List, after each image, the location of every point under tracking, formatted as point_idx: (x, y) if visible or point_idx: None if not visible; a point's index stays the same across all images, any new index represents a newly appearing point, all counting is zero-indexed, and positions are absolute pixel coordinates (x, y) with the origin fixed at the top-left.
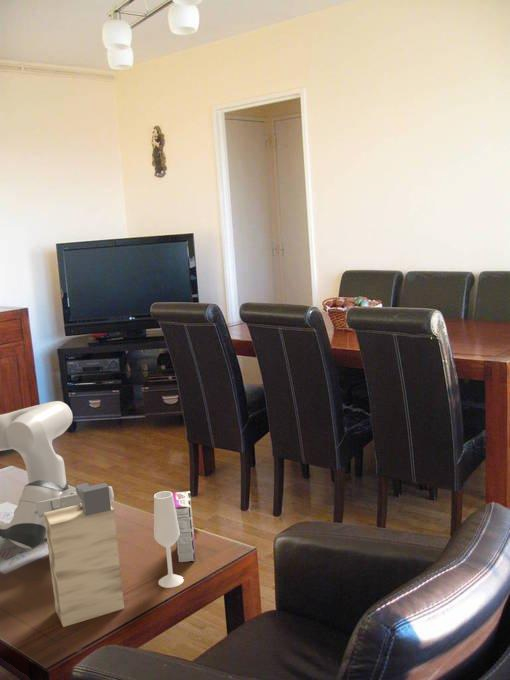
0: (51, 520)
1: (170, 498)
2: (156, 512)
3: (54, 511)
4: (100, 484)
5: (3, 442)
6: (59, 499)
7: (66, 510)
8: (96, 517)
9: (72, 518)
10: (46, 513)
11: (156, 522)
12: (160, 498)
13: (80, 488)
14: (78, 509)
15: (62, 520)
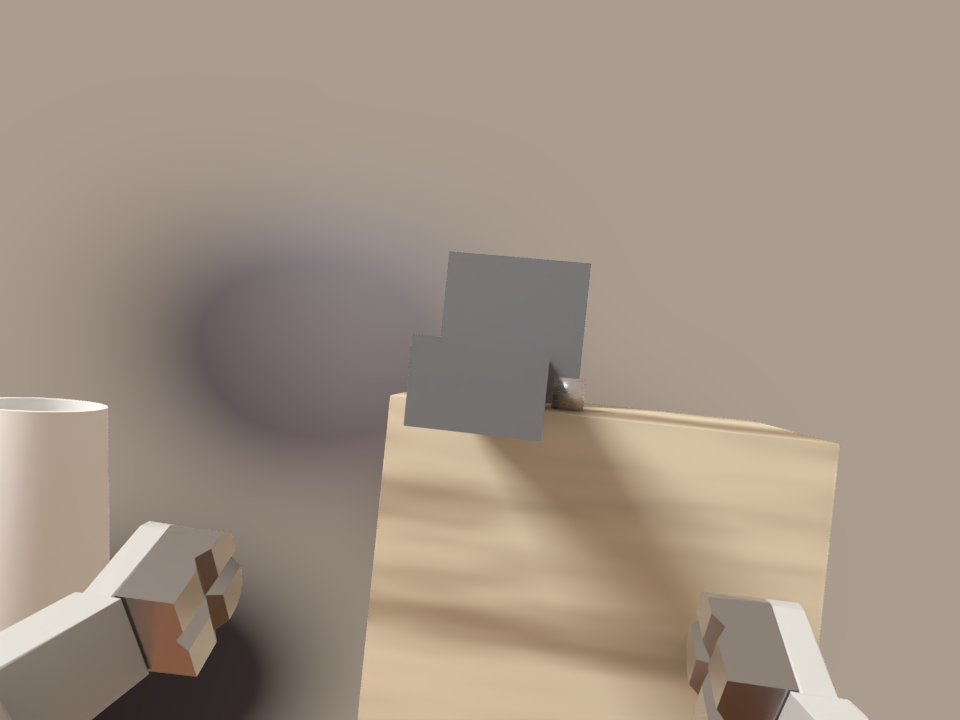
0: (758, 425)
1: (54, 409)
2: (106, 501)
3: (756, 433)
4: (480, 256)
5: None
6: (769, 606)
7: (670, 422)
8: None
9: (641, 410)
10: (814, 440)
11: (105, 566)
12: (104, 405)
13: (590, 264)
14: (595, 411)
15: (694, 416)
